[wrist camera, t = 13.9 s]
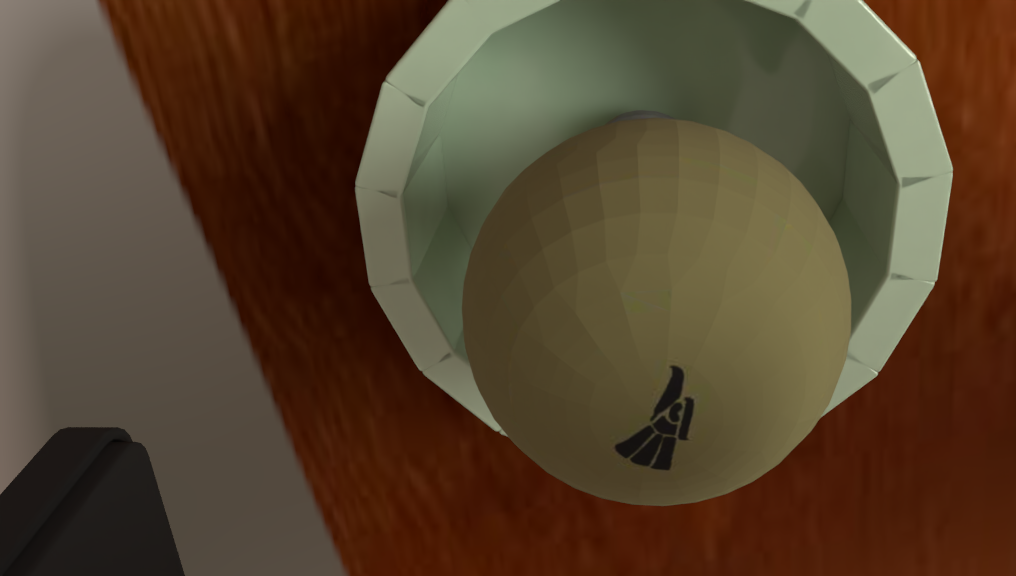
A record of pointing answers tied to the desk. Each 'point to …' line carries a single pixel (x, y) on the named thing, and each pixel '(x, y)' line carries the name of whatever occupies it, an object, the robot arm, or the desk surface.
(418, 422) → the desk surface
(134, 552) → the robot arm
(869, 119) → the bowl
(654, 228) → the light bulb
